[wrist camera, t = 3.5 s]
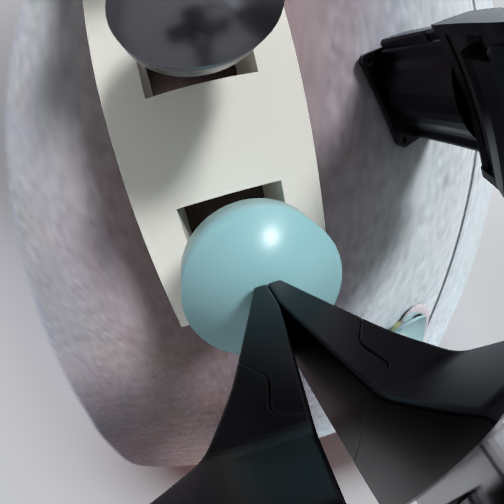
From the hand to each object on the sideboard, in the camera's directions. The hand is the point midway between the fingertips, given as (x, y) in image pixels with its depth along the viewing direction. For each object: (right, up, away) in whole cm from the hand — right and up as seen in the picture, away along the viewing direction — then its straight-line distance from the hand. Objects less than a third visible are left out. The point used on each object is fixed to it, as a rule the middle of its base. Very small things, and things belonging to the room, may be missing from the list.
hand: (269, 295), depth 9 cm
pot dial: (-3, +10, 0) cm, 10 cm away
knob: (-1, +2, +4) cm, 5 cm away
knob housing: (-4, +11, +3) cm, 12 cm away
